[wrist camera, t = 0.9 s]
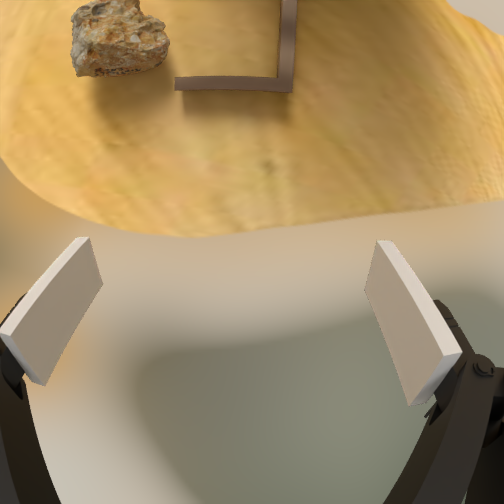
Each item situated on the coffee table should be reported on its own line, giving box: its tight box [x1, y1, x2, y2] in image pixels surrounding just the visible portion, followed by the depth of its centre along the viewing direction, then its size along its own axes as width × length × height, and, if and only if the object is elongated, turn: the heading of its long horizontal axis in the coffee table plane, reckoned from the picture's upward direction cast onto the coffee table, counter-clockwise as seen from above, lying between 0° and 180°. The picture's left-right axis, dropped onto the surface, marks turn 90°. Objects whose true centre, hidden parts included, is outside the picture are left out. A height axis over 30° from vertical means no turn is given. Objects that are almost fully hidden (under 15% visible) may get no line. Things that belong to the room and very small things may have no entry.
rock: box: [70, 0, 170, 77], centre depth 23 cm, size 12×10×10 cm
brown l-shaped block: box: [175, 0, 297, 93], centre depth 25 cm, size 15×12×4 cm
